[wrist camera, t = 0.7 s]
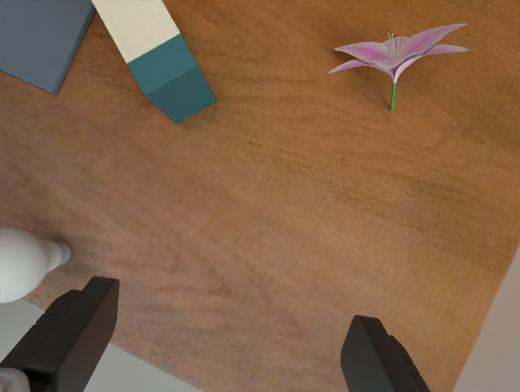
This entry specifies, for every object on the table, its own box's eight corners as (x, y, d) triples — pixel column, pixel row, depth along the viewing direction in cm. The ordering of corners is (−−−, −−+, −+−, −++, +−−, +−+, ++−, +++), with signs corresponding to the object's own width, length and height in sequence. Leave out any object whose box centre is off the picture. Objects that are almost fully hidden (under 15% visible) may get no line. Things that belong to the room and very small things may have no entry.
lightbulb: (65, 211, 35) (-27, 213, 24) (103, 252, 35) (28, 273, 24) (24, 251, 35) (-86, 270, 24) (62, 292, 35) (-32, 331, 24)
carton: (216, 100, 35) (198, 64, 26) (175, 124, 35) (144, 95, 26) (163, 6, 36) (127, -61, 27) (123, 29, 36) (74, -31, 27)
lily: (452, 60, 36) (479, -34, 28) (451, 148, 31) (484, 66, 23) (339, 64, 40) (334, -17, 32) (323, 142, 35) (312, 71, 27)
